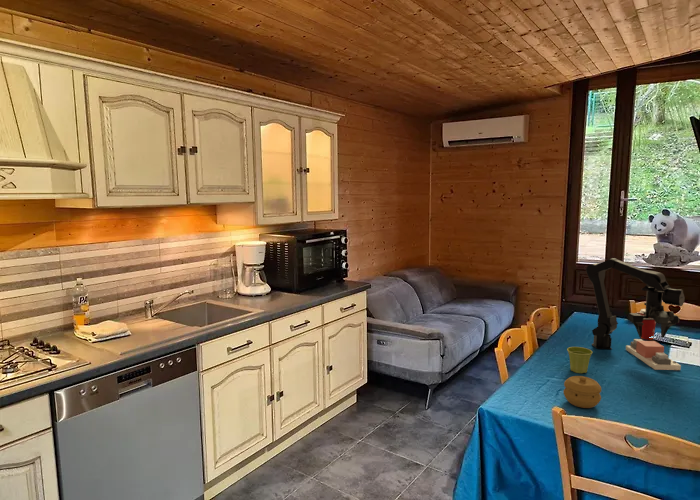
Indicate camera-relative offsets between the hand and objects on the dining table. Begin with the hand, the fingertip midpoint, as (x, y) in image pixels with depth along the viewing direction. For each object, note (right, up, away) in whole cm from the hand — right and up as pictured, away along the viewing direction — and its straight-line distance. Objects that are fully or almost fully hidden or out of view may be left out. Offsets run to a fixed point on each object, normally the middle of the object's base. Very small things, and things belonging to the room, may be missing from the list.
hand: (651, 337), depth 207 cm
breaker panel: (+1, -10, +1) cm, 10 cm away
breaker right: (-1, -7, -8) cm, 11 cm away
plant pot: (-37, -12, -11) cm, 40 cm away
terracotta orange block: (0, -8, +1) cm, 8 cm away
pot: (-50, -16, -41) cm, 66 cm away
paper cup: (+17, -6, +30) cm, 35 cm away
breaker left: (+1, -5, +10) cm, 11 cm away
